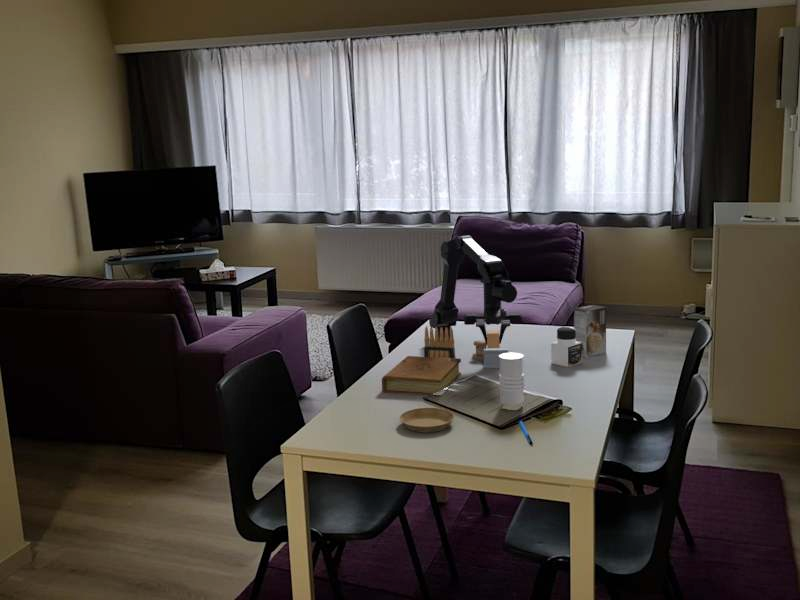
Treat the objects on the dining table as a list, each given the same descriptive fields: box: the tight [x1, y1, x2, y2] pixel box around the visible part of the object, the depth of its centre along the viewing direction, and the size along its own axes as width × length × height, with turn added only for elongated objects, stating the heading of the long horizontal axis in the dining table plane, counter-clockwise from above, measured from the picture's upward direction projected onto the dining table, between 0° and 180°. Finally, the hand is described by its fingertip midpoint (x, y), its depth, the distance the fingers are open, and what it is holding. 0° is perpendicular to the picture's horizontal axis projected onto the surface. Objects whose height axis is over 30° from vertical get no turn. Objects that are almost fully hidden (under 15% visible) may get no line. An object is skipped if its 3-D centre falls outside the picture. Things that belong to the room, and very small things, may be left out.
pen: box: [518, 420, 534, 447], centre depth 220 cm, size 1×19×1 cm, turn 2°
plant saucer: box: [399, 407, 455, 433], centre depth 229 cm, size 15×15×3 cm
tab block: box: [486, 330, 501, 349], centre depth 282 cm, size 4×4×5 cm
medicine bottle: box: [550, 326, 583, 368], centre depth 280 cm, size 7×7×12 cm
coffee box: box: [573, 304, 607, 358], centre depth 290 cm, size 9×6×16 cm
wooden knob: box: [471, 339, 487, 361], centre depth 291 cm, size 6×6×6 cm
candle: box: [498, 352, 525, 404], centre depth 239 cm, size 7×7×15 cm
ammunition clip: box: [423, 325, 456, 358], centre depth 289 cm, size 11×2×12 cm, turn 70°
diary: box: [381, 355, 462, 396], centre depth 266 cm, size 23×19×6 cm
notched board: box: [483, 348, 509, 369], centre depth 283 cm, size 9×8×4 cm
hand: (493, 343), depth 282 cm, fingers closed on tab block, 4 cm apart
